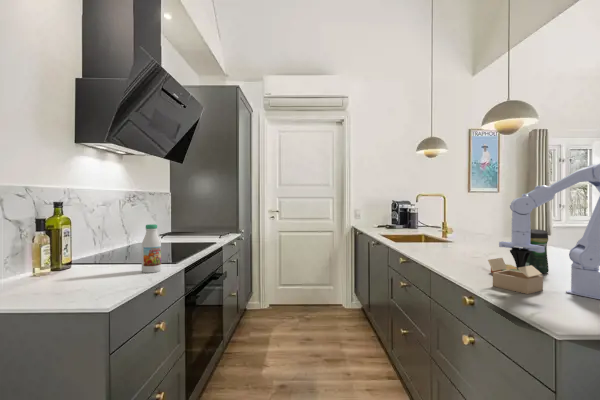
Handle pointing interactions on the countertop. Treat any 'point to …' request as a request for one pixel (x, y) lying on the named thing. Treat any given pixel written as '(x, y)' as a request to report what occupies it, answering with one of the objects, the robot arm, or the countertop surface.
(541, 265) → the coffee jar
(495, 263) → the far flap
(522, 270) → the flap
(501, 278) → the brown carton
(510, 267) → the carton
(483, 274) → the countertop surface
